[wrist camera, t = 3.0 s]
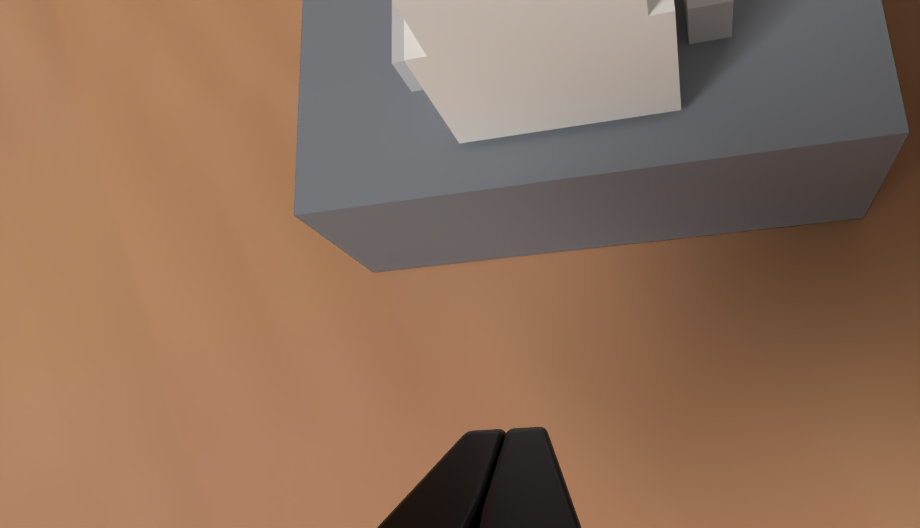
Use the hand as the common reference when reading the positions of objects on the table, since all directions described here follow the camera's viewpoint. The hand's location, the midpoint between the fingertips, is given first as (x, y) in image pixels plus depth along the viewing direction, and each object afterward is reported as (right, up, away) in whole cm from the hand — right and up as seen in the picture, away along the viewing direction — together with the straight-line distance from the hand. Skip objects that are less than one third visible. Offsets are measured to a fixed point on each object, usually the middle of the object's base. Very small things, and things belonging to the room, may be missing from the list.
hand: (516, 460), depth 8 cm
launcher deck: (+3, +7, +13) cm, 15 cm away
